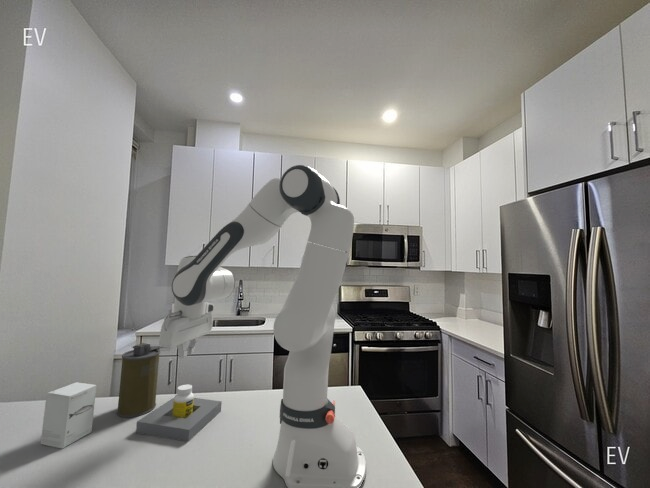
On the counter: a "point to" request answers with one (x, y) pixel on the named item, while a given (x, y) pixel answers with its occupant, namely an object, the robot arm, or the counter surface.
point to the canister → (138, 381)
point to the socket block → (178, 420)
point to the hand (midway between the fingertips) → (186, 355)
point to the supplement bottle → (183, 402)
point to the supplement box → (68, 414)
